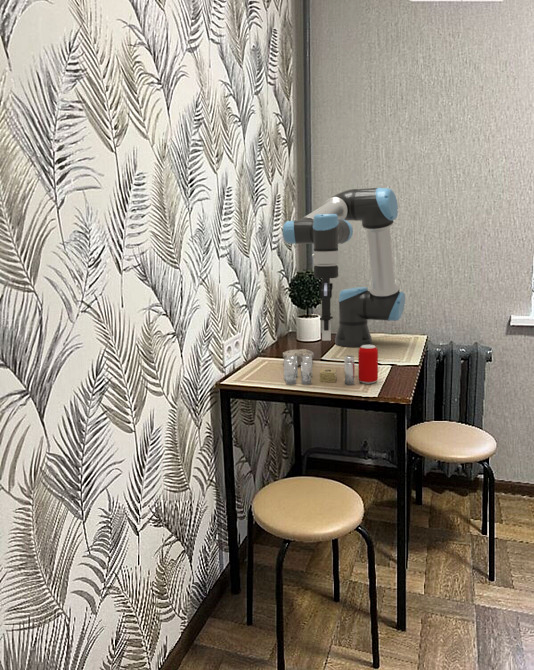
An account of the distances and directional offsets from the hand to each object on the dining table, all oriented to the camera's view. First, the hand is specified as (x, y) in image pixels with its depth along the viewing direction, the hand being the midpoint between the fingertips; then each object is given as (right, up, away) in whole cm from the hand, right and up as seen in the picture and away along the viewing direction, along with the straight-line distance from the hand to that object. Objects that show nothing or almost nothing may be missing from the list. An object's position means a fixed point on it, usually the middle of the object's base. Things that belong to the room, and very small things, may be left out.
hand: (326, 339), depth 194 cm
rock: (-8, -10, +33) cm, 35 cm away
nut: (+2, -14, +10) cm, 17 cm away
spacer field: (+2, -13, +10) cm, 17 cm away
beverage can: (+14, -14, +7) cm, 21 cm away
